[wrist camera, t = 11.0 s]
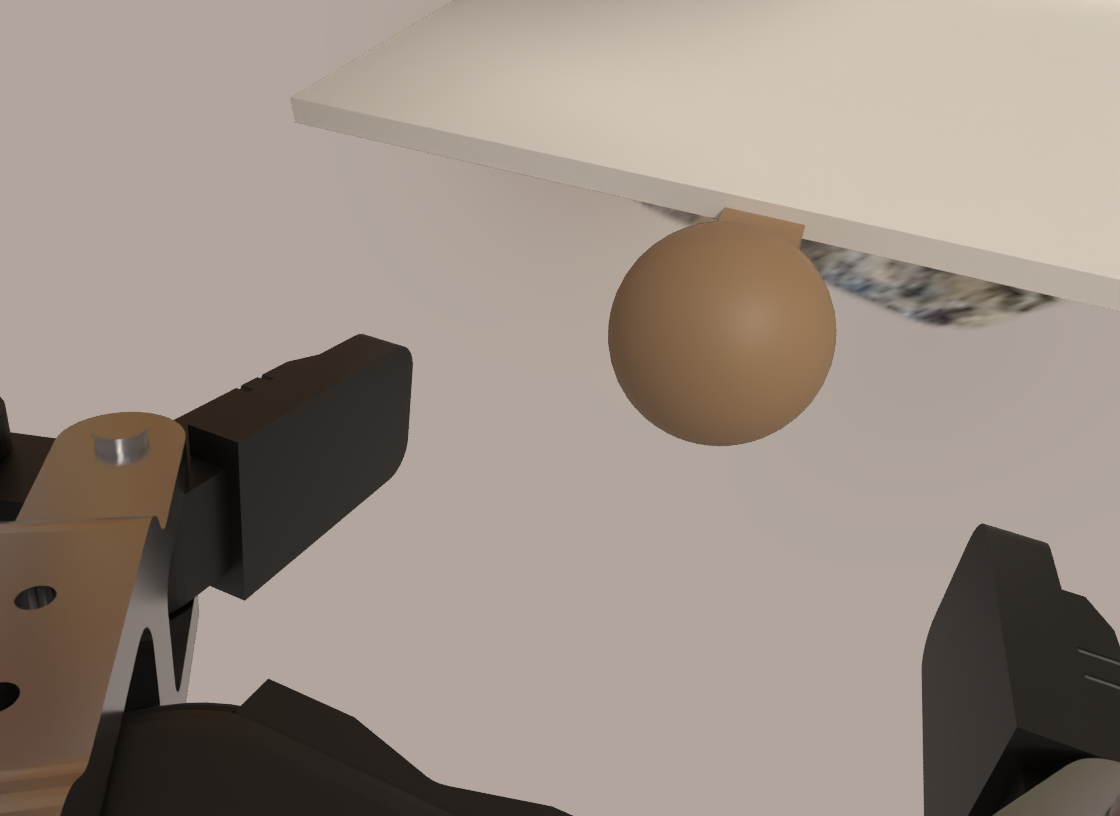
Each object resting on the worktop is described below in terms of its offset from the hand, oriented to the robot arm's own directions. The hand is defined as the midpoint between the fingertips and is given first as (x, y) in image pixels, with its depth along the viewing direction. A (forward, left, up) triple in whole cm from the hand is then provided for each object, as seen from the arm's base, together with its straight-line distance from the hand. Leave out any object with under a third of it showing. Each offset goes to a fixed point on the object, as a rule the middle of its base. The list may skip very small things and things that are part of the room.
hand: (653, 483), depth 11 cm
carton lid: (-5, 0, -13) cm, 14 cm away
